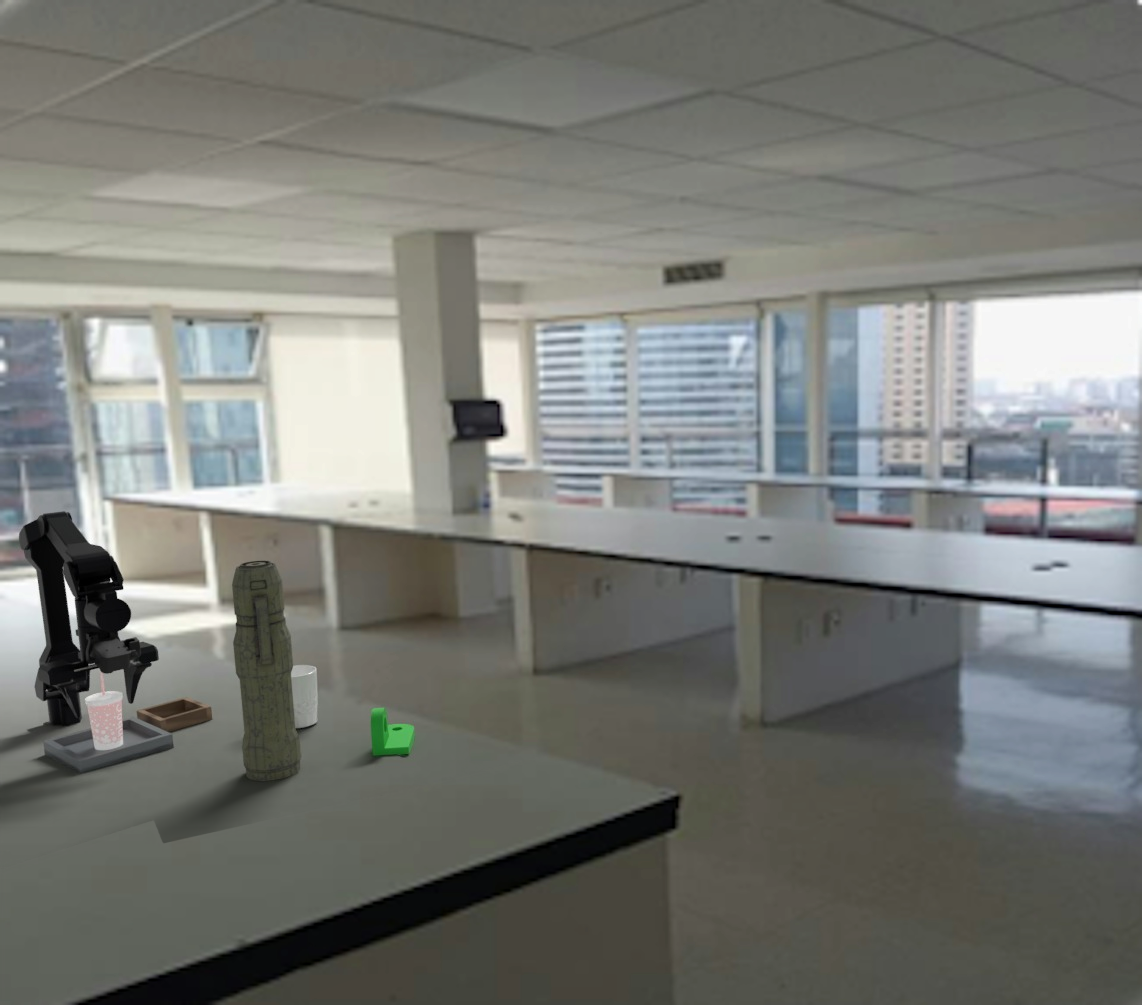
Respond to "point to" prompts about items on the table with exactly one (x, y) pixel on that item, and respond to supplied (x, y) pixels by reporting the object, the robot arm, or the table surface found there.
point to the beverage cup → (106, 718)
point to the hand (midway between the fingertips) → (104, 710)
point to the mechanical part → (390, 735)
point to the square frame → (191, 708)
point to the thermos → (264, 673)
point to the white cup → (304, 695)
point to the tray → (84, 756)
